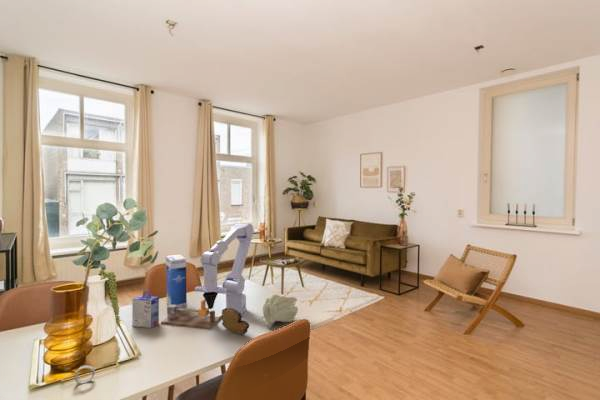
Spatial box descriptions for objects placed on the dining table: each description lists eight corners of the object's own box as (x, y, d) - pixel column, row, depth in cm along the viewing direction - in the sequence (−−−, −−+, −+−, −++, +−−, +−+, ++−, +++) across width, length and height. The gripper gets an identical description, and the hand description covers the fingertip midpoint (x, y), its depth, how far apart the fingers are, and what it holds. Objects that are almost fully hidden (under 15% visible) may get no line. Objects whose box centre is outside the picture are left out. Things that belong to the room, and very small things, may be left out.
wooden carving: (252, 334, 126) (252, 310, 126) (245, 338, 122) (245, 314, 122) (223, 325, 135) (223, 303, 134) (216, 329, 131) (215, 306, 130)
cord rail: (220, 319, 141) (220, 305, 140) (210, 329, 131) (210, 314, 130) (174, 314, 145) (174, 301, 145) (160, 323, 135) (160, 309, 135)
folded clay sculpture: (280, 331, 143) (285, 297, 150) (299, 332, 135) (303, 297, 141) (250, 326, 133) (256, 289, 139) (268, 327, 124) (274, 289, 131)
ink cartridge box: (159, 323, 136) (159, 291, 136) (151, 328, 131) (151, 295, 130) (140, 321, 138) (140, 289, 138) (131, 326, 133) (131, 294, 132)
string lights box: (187, 309, 152) (186, 258, 151) (170, 313, 147) (170, 260, 146) (180, 301, 163) (180, 253, 162) (165, 304, 158) (165, 255, 157)
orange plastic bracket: (208, 314, 138) (208, 299, 137) (205, 316, 135) (205, 301, 135) (200, 313, 138) (200, 298, 138) (197, 315, 136) (197, 300, 135)
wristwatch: (76, 381, 95) (76, 366, 95) (95, 377, 97) (94, 362, 97) (74, 387, 92) (73, 371, 92) (93, 382, 94) (93, 367, 94)
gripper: (191, 279, 133) (191, 310, 133) (221, 282, 130) (221, 313, 130) (199, 275, 140) (199, 304, 140) (228, 277, 137) (228, 306, 137)
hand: (210, 308), depth 136 cm, fingers closed
